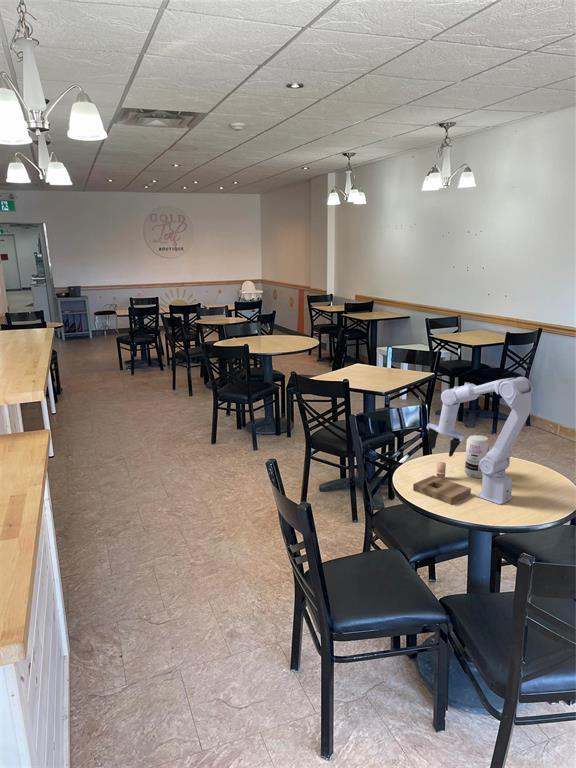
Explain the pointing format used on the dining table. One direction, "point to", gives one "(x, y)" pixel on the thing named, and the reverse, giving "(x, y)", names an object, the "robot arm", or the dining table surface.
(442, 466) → the peg
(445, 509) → the dining table surface
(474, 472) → the supplement can
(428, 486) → the board
